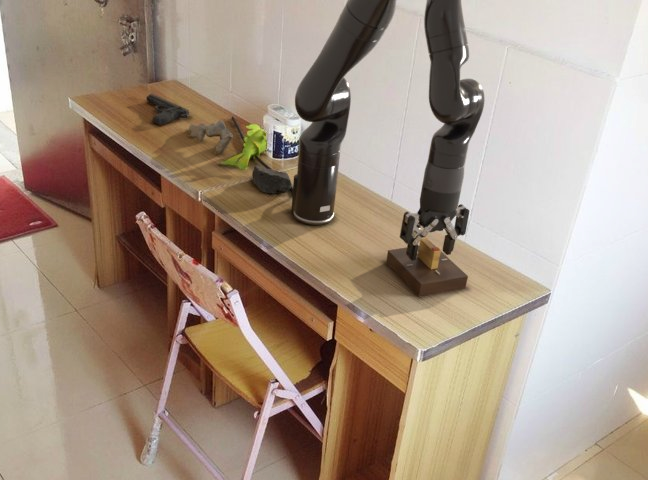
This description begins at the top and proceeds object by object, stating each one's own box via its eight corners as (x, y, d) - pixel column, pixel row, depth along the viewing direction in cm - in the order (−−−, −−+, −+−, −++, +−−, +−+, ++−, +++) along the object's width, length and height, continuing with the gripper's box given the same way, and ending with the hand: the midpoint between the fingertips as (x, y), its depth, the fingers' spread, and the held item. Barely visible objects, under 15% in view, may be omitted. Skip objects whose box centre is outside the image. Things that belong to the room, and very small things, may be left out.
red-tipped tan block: (417, 256, 163) (420, 238, 160) (423, 255, 163) (427, 237, 161) (430, 269, 158) (434, 250, 156) (437, 268, 159) (441, 249, 156)
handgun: (123, 109, 237) (155, 100, 243) (160, 127, 225) (193, 117, 232) (122, 100, 235) (154, 91, 242) (160, 118, 223) (193, 108, 230)
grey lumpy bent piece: (182, 131, 222) (182, 107, 218) (198, 128, 225) (198, 104, 221) (219, 156, 209) (220, 131, 205) (235, 153, 211) (236, 128, 207)
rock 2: (250, 180, 199) (246, 187, 190) (256, 158, 198) (253, 164, 188) (289, 192, 200) (287, 200, 190) (296, 171, 198) (294, 177, 188)
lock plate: (385, 262, 166) (387, 249, 164) (430, 255, 170) (432, 242, 168) (418, 296, 155) (421, 283, 154) (465, 288, 159) (468, 275, 157)
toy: (280, 145, 215) (284, 124, 209) (242, 187, 205) (245, 166, 198) (255, 132, 217) (258, 111, 211) (217, 173, 206) (219, 152, 200)
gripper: (463, 171, 156) (449, 242, 165) (400, 179, 152) (389, 251, 160) (484, 187, 150) (468, 260, 159) (420, 195, 146) (407, 269, 155)
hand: (428, 255), depth 160 cm, fingers open, 8 cm apart
